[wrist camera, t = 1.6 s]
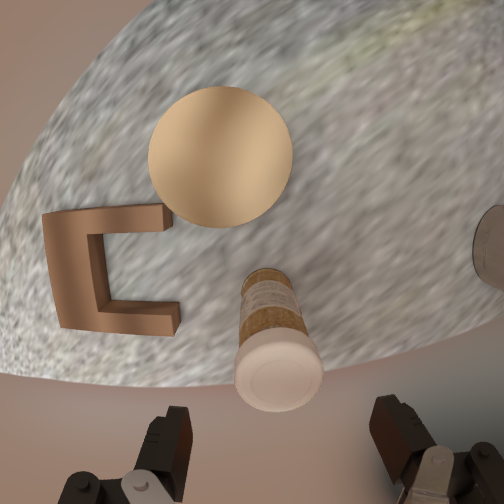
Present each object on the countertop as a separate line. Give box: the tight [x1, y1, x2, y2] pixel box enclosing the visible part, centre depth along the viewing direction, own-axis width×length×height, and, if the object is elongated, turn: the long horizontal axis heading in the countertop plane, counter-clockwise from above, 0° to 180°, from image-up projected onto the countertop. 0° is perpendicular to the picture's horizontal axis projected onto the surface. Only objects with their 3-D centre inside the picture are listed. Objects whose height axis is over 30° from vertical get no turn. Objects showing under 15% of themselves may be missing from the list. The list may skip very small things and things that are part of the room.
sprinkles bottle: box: [234, 269, 324, 412], centre depth 21 cm, size 5×5×13 cm
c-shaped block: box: [42, 203, 181, 337], centre depth 25 cm, size 12×11×3 cm
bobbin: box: [148, 86, 293, 228], centre depth 20 cm, size 8×8×9 cm
